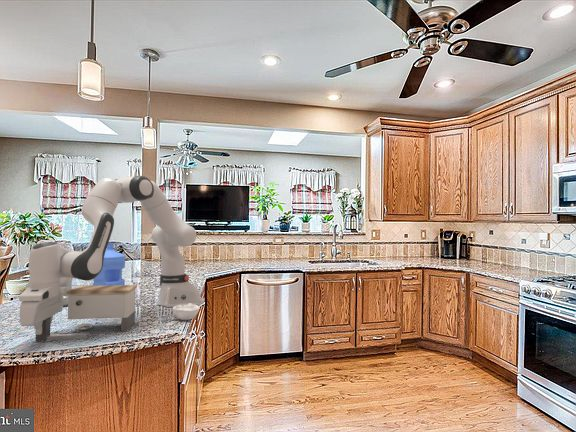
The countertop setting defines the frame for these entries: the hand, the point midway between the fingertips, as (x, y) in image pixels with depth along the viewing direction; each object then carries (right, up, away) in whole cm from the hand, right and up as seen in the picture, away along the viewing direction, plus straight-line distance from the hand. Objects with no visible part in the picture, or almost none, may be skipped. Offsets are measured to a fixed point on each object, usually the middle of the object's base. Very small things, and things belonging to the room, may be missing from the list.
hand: (43, 331), depth 116 cm
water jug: (-17, -4, +75) cm, 77 cm away
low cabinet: (+13, -3, +13) cm, 19 cm away
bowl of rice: (+40, -4, +27) cm, 48 cm away
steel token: (+7, -3, +12) cm, 14 cm away
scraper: (+6, -3, +1) cm, 7 cm away
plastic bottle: (-23, -4, +47) cm, 52 cm away
